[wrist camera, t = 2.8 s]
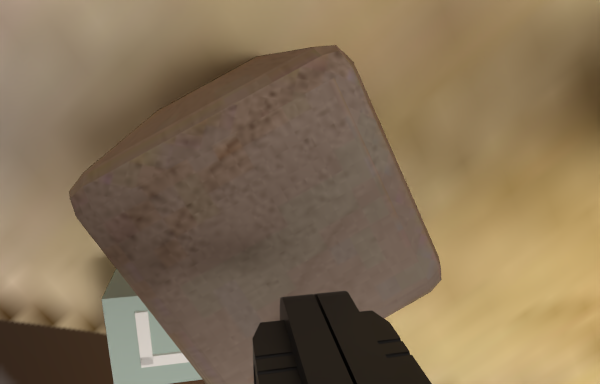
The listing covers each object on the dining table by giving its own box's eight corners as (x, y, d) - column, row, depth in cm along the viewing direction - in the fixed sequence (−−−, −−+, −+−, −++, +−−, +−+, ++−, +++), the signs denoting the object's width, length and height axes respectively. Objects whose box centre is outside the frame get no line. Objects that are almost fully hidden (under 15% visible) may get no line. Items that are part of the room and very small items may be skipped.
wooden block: (326, 165, 35) (460, 288, 16) (218, 226, 34) (223, 424, 15) (267, 50, 31) (350, 29, 12) (146, 116, 31) (42, 198, 12)
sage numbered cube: (214, 246, 35) (214, 290, 28) (218, 323, 37) (219, 381, 30) (120, 253, 33) (97, 301, 27) (130, 332, 36) (111, 395, 29)
